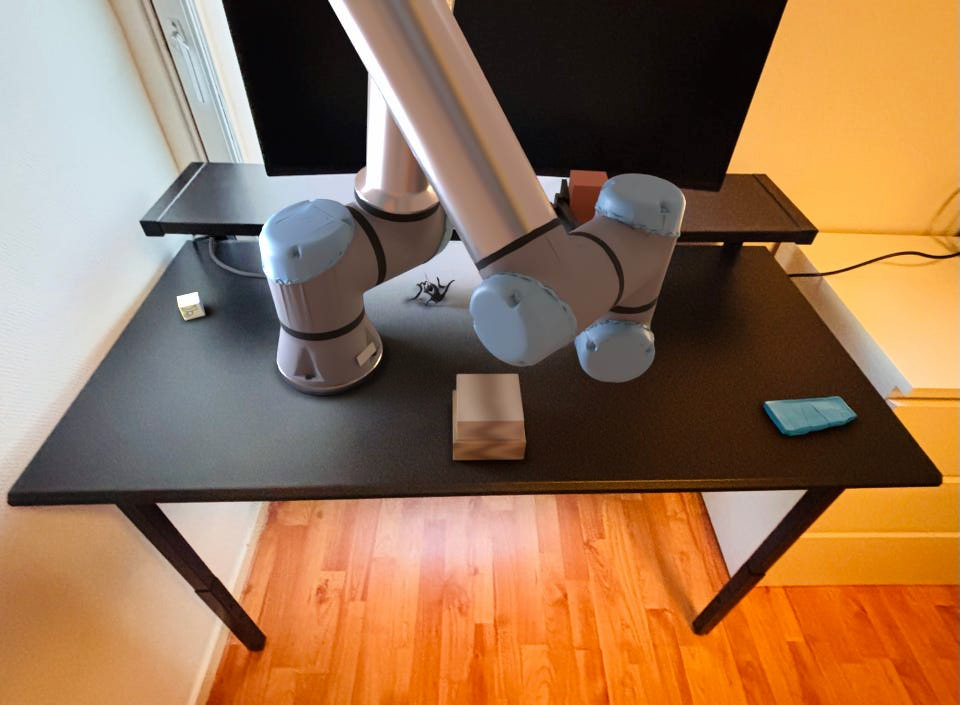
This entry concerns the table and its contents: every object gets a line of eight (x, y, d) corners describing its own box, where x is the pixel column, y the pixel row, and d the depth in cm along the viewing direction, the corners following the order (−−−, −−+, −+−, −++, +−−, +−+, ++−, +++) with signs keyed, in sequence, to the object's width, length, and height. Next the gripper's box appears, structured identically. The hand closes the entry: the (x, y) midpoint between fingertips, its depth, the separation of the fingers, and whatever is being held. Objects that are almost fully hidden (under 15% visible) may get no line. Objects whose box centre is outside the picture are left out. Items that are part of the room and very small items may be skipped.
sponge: (867, 428, 73) (843, 393, 76) (784, 433, 71) (765, 398, 75) (860, 434, 74) (837, 399, 78) (779, 439, 73) (760, 404, 76)
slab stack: (453, 460, 68) (453, 424, 63) (452, 407, 74) (452, 371, 69) (523, 459, 68) (528, 423, 63) (517, 406, 75) (521, 371, 70)
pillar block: (563, 249, 79) (573, 185, 72) (561, 232, 83) (570, 169, 76) (597, 251, 79) (610, 187, 72) (593, 234, 83) (605, 171, 76)
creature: (400, 301, 94) (423, 316, 88) (394, 273, 91) (418, 286, 85) (437, 287, 97) (462, 300, 91) (433, 259, 94) (458, 271, 89)
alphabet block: (205, 316, 87) (199, 301, 85) (184, 321, 86) (178, 306, 84) (203, 306, 89) (197, 291, 87) (183, 310, 88) (176, 295, 86)
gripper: (521, 296, 66) (520, 208, 83) (667, 304, 66) (635, 214, 83) (527, 242, 61) (524, 161, 78) (684, 251, 61) (647, 167, 78)
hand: (581, 188), depth 81 cm, fingers closed on pillar block, 5 cm apart
